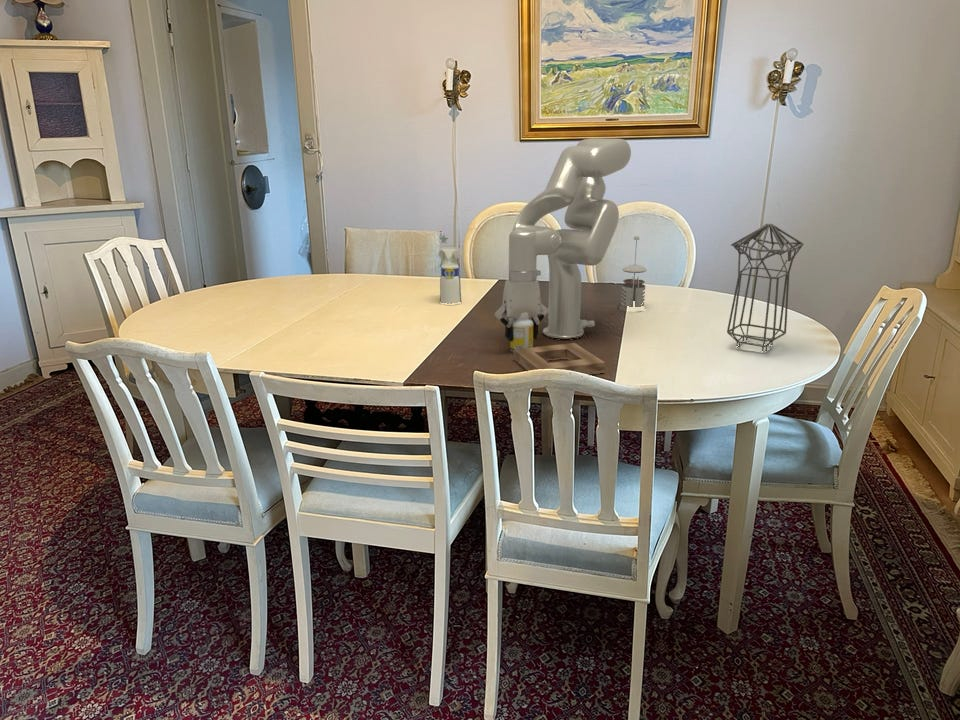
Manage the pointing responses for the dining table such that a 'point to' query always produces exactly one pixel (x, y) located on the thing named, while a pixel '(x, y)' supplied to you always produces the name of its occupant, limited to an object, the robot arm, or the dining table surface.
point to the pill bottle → (522, 332)
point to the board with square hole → (577, 354)
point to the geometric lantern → (781, 242)
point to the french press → (633, 285)
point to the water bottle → (450, 274)
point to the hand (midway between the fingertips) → (521, 338)
